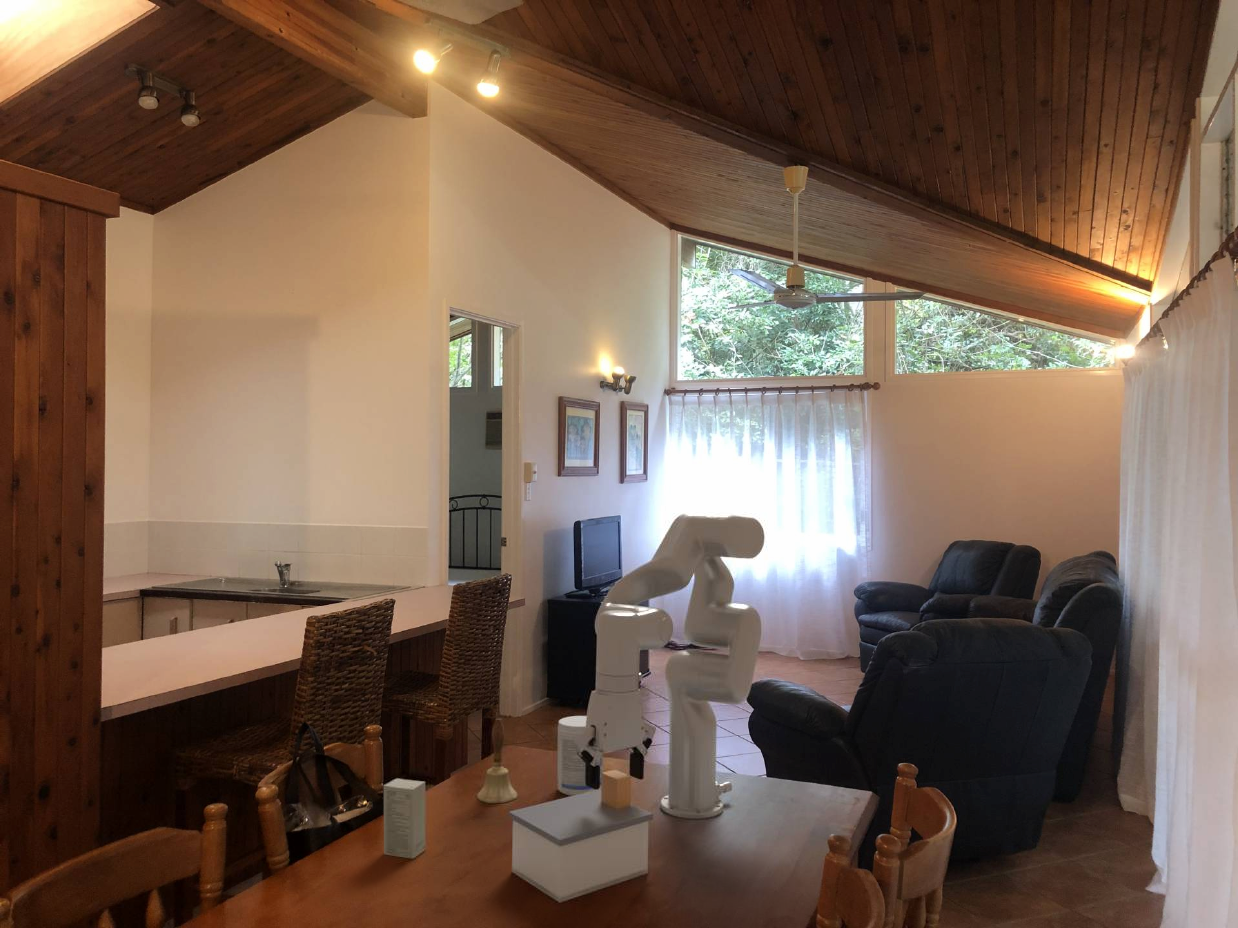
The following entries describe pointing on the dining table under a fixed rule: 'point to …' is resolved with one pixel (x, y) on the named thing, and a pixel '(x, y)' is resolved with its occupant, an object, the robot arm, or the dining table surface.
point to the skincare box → (404, 818)
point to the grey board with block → (585, 812)
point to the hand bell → (497, 772)
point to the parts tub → (579, 860)
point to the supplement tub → (572, 757)
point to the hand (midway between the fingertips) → (614, 782)
